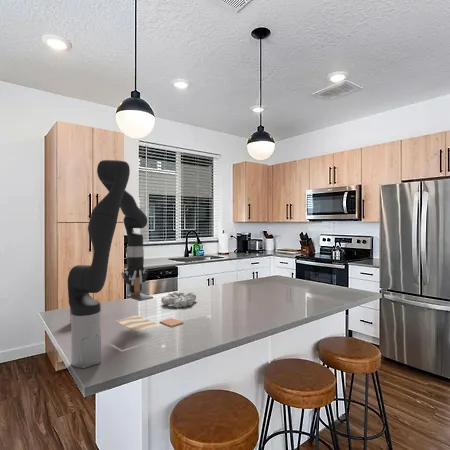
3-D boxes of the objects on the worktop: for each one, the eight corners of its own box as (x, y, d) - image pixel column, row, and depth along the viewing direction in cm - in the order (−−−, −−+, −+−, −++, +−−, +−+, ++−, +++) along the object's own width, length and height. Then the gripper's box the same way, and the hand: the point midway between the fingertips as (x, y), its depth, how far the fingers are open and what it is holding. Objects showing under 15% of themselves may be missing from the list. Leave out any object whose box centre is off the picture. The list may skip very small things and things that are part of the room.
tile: (171, 321, 153) (183, 325, 147) (159, 325, 148) (171, 329, 142) (171, 317, 153) (183, 321, 147) (159, 321, 148) (171, 325, 142)
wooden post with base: (125, 296, 148) (125, 278, 148) (139, 294, 153) (139, 276, 153) (139, 301, 140) (139, 281, 139) (153, 298, 145) (153, 279, 144)
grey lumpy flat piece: (158, 300, 192) (158, 290, 192) (191, 297, 199) (191, 288, 199) (164, 310, 171) (164, 300, 171) (201, 307, 179) (201, 297, 179)
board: (159, 325, 146) (159, 324, 146) (136, 332, 137) (136, 331, 137) (136, 316, 159) (136, 315, 159) (114, 322, 151) (114, 320, 151)
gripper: (125, 257, 141) (125, 296, 141) (152, 255, 151) (152, 291, 151) (117, 256, 146) (117, 293, 146) (144, 254, 156) (144, 288, 156)
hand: (135, 292), depth 149 cm, fingers closed on wooden post with base, 3 cm apart
